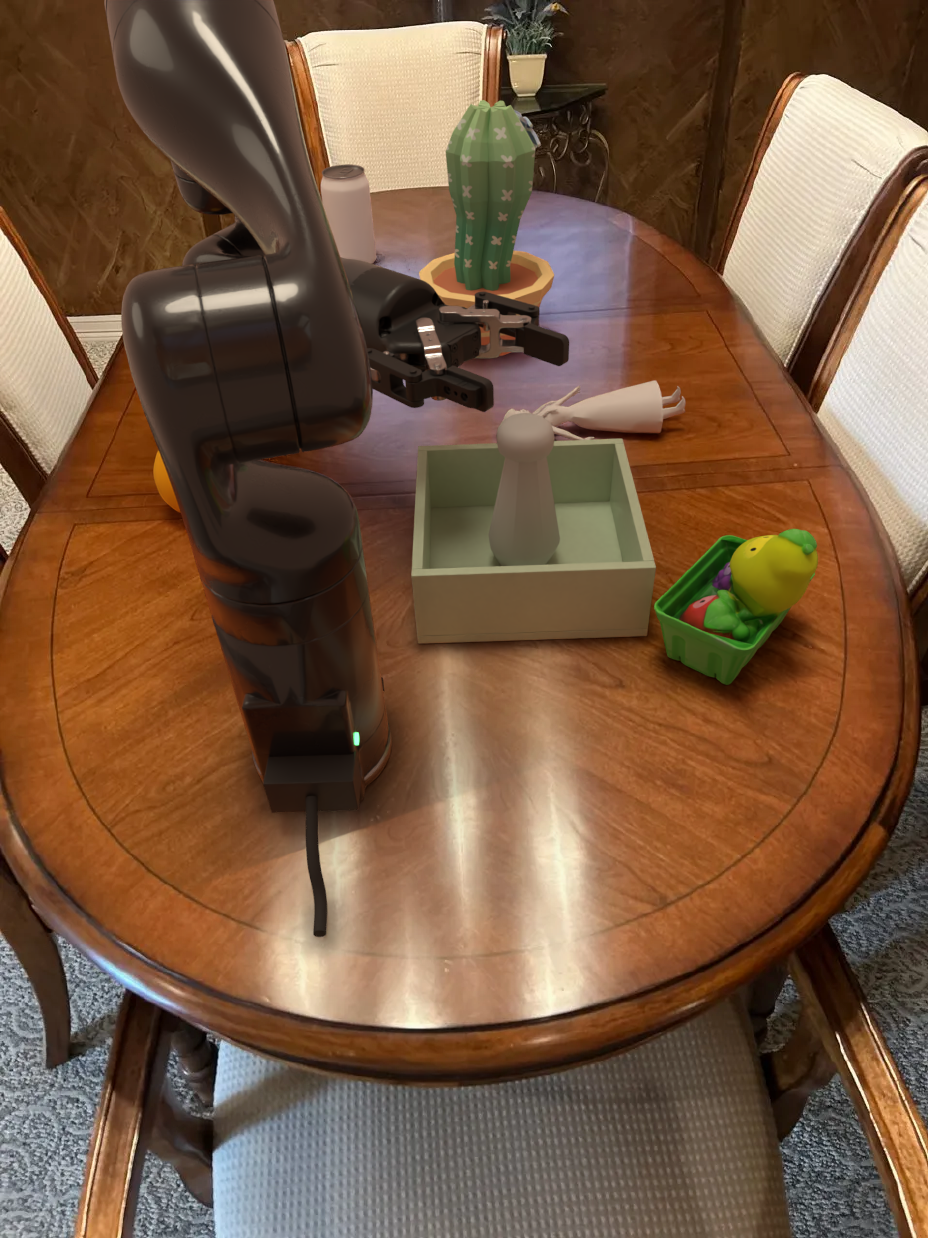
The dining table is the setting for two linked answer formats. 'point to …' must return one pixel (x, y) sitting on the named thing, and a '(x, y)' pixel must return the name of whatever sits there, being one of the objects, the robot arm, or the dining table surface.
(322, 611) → the robot arm
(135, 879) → the dining table surface
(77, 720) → the dining table surface
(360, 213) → the can
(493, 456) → the bin
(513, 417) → the salt shaker
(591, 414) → the woman figurine
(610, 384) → the dining table surface
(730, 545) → the fruit basket
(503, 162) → the potted cactus
